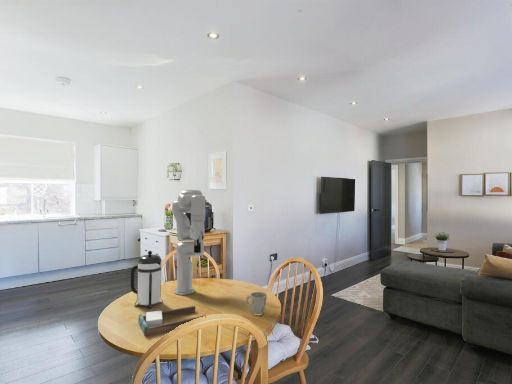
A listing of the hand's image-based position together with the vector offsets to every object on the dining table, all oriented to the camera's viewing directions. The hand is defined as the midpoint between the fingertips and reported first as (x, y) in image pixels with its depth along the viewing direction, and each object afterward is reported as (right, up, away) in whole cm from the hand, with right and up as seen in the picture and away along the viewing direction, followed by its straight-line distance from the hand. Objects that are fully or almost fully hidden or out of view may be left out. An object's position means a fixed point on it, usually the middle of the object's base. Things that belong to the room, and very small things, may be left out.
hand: (197, 252), depth 153 cm
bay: (-9, -31, -15) cm, 35 cm away
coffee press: (-30, -31, +7) cm, 44 cm away
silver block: (-17, -31, -19) cm, 40 cm away
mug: (+31, -32, -2) cm, 44 cm away
